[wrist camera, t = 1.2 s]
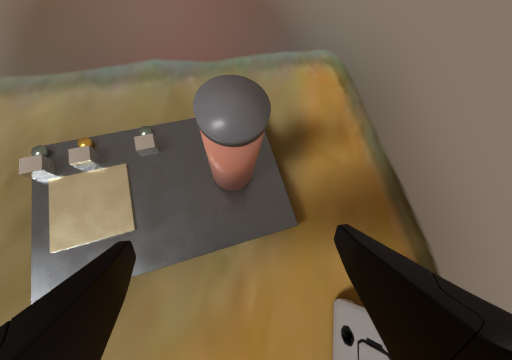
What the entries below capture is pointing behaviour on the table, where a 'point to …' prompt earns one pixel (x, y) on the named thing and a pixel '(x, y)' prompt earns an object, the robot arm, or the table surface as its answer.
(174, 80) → the table surface
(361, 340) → the electrical switch
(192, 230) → the breaker panel
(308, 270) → the table surface
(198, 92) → the post
